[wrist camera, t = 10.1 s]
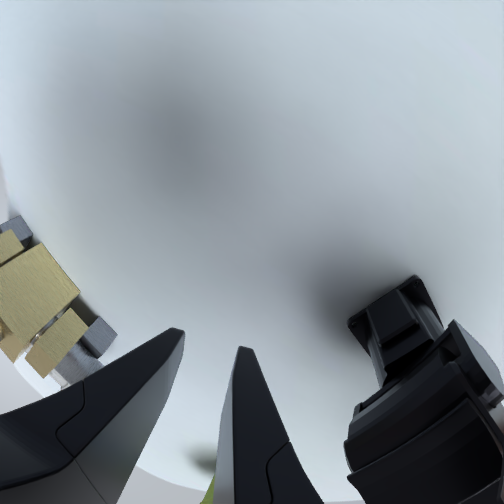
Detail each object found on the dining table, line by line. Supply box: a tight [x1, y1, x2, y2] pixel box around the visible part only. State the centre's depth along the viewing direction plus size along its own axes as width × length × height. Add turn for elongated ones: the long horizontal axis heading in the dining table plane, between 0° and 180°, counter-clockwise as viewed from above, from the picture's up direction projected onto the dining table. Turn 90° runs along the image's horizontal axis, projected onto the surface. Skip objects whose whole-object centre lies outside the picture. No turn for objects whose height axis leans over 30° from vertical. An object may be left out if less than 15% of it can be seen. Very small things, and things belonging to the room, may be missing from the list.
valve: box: [0, 216, 117, 385], centre depth 19 cm, size 16×5×9 cm, turn 39°
